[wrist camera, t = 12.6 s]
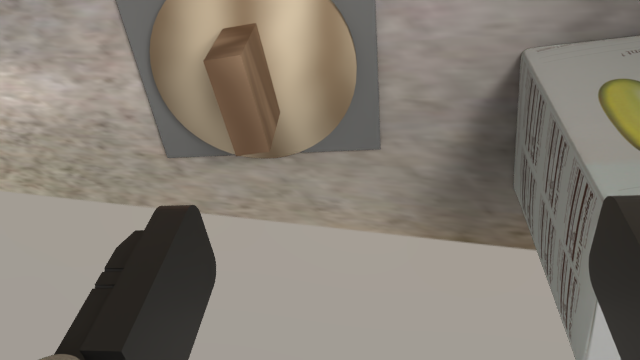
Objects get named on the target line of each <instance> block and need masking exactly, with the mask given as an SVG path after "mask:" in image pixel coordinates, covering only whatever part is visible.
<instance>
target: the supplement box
mask: <svg viewBox="0 0 640 360" xmlns="http://www.w3.org/2000/svg"><path fill="white" fill-rule="evenodd" d="M513 186H514V190H515V192H516V195H517V197H518V200H519V203H520V205H521V208H522V211H523V213H524V216H525V219H526V222H527V225H528V227H529V230H530V233H531V236H532V239H533V241H534V244H535V247H536V250H537V252H538V255H539V258H540V260H541V263H542V266H543V269H544V272H545V275H546V277H547V280H548V283H549V286H550V288H551V291H552V294H553V297H554V300H555V303H556V305H557V308H558V311H559V314H560V317H561V320H562V323H563V325H564V328H565V331H566V334H567V336H568V339H569V342H570V345H571V348H572V351H573V353H574V357H575V359H576V360H621V358H620V355H619V353H618V350H617V348H616V345H615V343H614V340H613V338H612V335H611V333H610V330H609V328H608V325H607V323H606V320H605V318H604V315H603V313H602V310H601V308H600V305H599V303H598V300H597V298H596V295H595V293H594V290H593V287H592V284H591V281H590V276H589V254H590V250H591V246H592V242H593V238H594V234H595V230H596V227H597V223H598V219H599V215H600V211H601V207H602V204H603V201H604V199H605V198H606V197H607V196H625V195H640V35H639V36H631V37H622V38H614V39H605V40H597V41H588V42H579V43H570V44H560V45H551V46H544V47H536V48H529V49H526V50H525V51H523V53H522V55H521V65H520V80H519V98H518V113H517V131H516V147H515V164H514V183H513Z"/></svg>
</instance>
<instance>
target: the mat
mask: <svg viewBox="0 0 640 360" xmlns="http://www.w3.org/2000/svg"><path fill="white" fill-rule="evenodd" d="M165 1H166V0H116V2H117V5H118V8H119V11H120V14H121V17H122V20H123V23H124V26H125V29H126V33H127V36H128V39H129V42H130V45H131V48H132V51H133V54H134V57H135V60H136V63H137V66H138V69H139V72H140V75H141V78H142V81H143V84H144V87H145V90H146V93H147V96H148V100H149V103H150V106H151V109H152V112H153V115H154V118H155V121H156V124H157V127H158V130H159V133H160V136H161V139H162V142H163V145H164V148H165V151H166V154H167V157H168V158H175V157H200V156H225V155H235V154H231V153H228V152H226V151H223V150H220V149H218V148H216V147H214V146H212V145H210V144H208V143H206V142H204V141H203V140H201V139H200V138H198V137H197V136H195V135H194V134H193V133H191V132H190V131H189V130H188V129H186V128H185V127H184V126H183V125H182V124H181V123H180V122H179V121H178V120H177V118H176V117H175V116H174V115H173V114H172V112H171V111H170V110H169V108H168V107H167V105H166V104H165V102H164V100H163V99H162V97H161V95H160V93H159V91H158V88H157V86H156V83H155V80H154V77H153V73H152V68H151V63H150V39H151V34H152V29H153V25H154V22H155V20H156V17H157V15H158V13H159V11H160V9H161V8H162V6H163V4H164V2H165ZM332 1H333V3H334V4H335V5H336V7H337V8H338V9H339V11H340V12H341V14H342V16H343V17H344V19H345V21H346V23H347V25H348V27H349V30H350V32H351V35H352V38H353V42H354V46H355V50H356V60H357V72H356V85H355V90H354V95H353V98H352V100H351V103H350V106H349V108H348V110H347V112H346V114H345V116H344V117H343V119H342V120H341V121H340V123H339V124H338V126H337V127H336V128H335V129H334V130H333V131H332V132H331V133H330V134H329V135H328V136H326V137H325V138H324V139H323V140H322V141H320V142H319V143H317V144H315V145H314V146H312V147H310V148H308V149H306V150H304V151H301V152H324V151H349V150H373V149H381V147H380V119H379V91H378V63H377V34H376V6H375V0H332Z"/></svg>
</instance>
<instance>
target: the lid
mask: <svg viewBox="0 0 640 360" xmlns="http://www.w3.org/2000/svg"><path fill="white" fill-rule="evenodd" d="M150 63H151V68H152V73H153V77H154V80H155V83H156V86H157V88H158V91H159V93H160V95H161V97H162V99H163V100H164V102H165V104H166V105H167V107H168V108H169V110H170V111H171V112H172V114H173V115H174V116H175V117H176V118H177V120H178V121H179V122H180V123H181V124H182V125H183V126H184V127H185V128H186V129H188V130H189V131H190V132H191V133H193V134H194V135H195V136H197V137H198V138H200V139H201V140H203V141H204V142H206V143H208V144H210V145H212V146H214V147H216V148H218V149H220V150H223V151H226V152H228V153H231V154H235V155H236V156H244V157H251V158H278V157H284V156H289V155H292V154H295V153H299V152H301V151H304V150H306V149H308V148H310V147H312V146H314V145H315V144H317V143H319V142H320V141H322V140H323V139H324V138H325V137H326V136H328V135H329V134H330V133H331V132H332V131H333V130H334V129H335V128H336V127H337V126H338V124H339V123H340V121H341V120H342V119H343V117H344V116H345V114H346V112H347V110H348V108H349V106H350V103H351V100H352V98H353V95H354V90H355V85H356V72H357V60H356V50H355V46H354V42H353V38H352V35H351V32H350V30H349V27H348V25H347V23H346V21H345V19H344V17H343V16H342V14H341V12H340V11H339V9H338V8H337V7H336V5H335V4H334V3H333V1H332V0H166V1H165V2H164V4H163V6H162V8H161V9H160V11H159V13H158V15H157V17H156V20H155V22H154V25H153V29H152V34H151V39H150Z"/></svg>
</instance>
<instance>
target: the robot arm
mask: <svg viewBox="0 0 640 360" xmlns="http://www.w3.org/2000/svg"><path fill="white" fill-rule="evenodd" d="M589 276H590V281H591V284H592V287H593V290H594V293H595V295H596V298H597V300H598V303H599V305H600V308H601V310H602V313H603V315H604V318H605V320H606V323H607V325H608V328H609V330H610V333H611V335H612V338H613V340H614V343H615V345H616V348H617V350H618V353H619V355H620V358H621V360H640V195H625V196H607V197H606V198H605V199H604V201H603V204H602V207H601V211H600V215H599V219H598V223H597V227H596V230H595V234H594V238H593V242H592V246H591V250H590V254H589ZM215 277H216V261H215V257H214V253H213V250H212V247H211V244H210V241H209V238H208V235H207V232H206V229H205V226H204V223H203V220H202V217H201V214H200V211H199V209H198V208H197V207H196V206H195V205H179V206H159V207H158V208H157V209H156V210H155V212H154V213H153V215H152V217H151V219H150V221H149V222H148V224H147V226H146V228H145V230H144V231H143V230H141V231H134V232H133V233H132V234H131V235H130V236H129V237H128V238H127V239H126V240H124V241H123V242H122V243H121V244H120V245H119V246H118V247H117V248H116V249H115V251H114V253H113V254H112V256H111V258H110V260H109V261H108V263H107V265H106V266H105V272H102V273H101V275H100V277H99V278H98V280H97V282H96V284H95V289H92V290H91V292H90V294H89V296H88V297H87V299H86V301H85V303H84V304H83V306H82V308H81V310H80V311H79V313H78V315H77V316H76V318H75V320H74V322H73V323H72V325H71V327H70V328H69V330H68V332H67V334H66V335H65V337H64V339H63V340H62V342H61V344H60V346H59V347H58V349H57V351H56V352H55V354H54V355H51V356H48V357H44V358H42V359H39V360H188V359H189V356H190V353H191V350H192V347H193V344H194V341H195V339H196V336H197V333H198V330H199V327H200V324H201V321H202V318H203V316H204V312H205V310H206V307H207V304H208V301H209V298H210V295H211V292H212V289H213V287H214V283H215Z"/></svg>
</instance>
